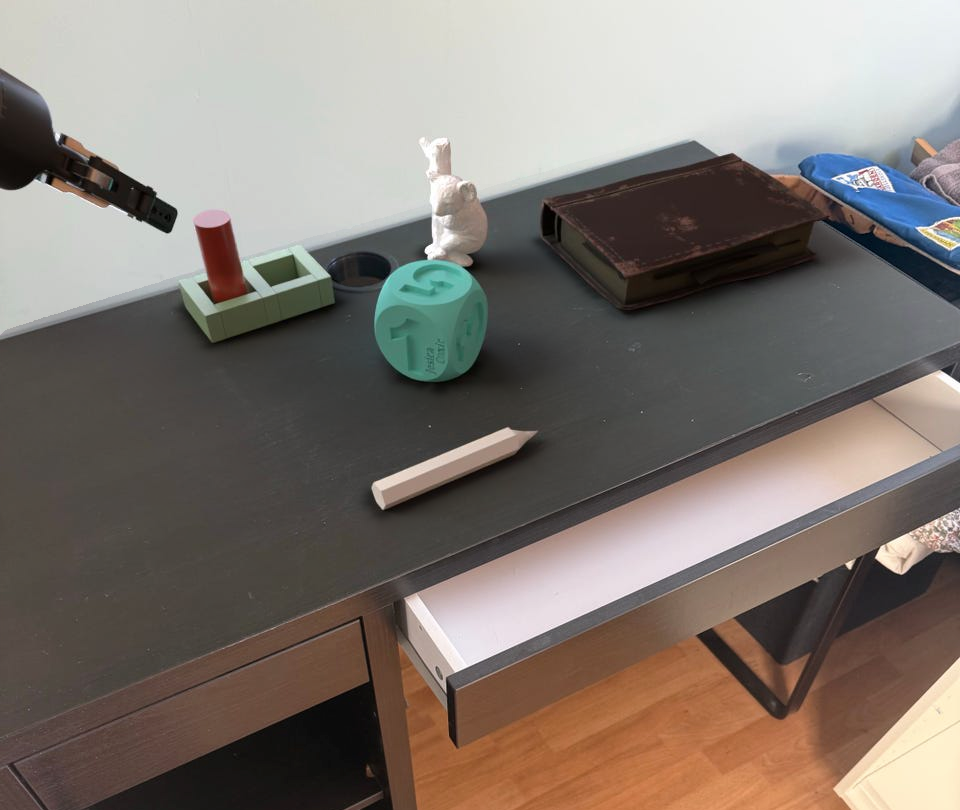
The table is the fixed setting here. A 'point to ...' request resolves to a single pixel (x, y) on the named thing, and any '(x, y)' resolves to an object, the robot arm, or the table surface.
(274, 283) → the two-slot green holder
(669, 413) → the table surface
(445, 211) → the koala figurine
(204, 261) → the peg
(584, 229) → the diary
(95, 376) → the table surface
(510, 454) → the unpainted wooden pencil
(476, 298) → the decorative dice
